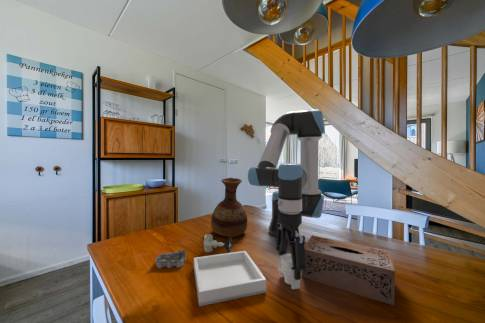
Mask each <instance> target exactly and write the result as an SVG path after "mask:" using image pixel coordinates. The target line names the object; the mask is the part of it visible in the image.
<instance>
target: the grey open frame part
mask: <svg viewBox="0 0 485 323" xmlns="http://www.w3.org/2000/svg"><path fill="white" fill-rule="evenodd" d="M186 253H187V249H179V250H177V251H174V252H167V253H159V254H158V255H157V256H156V258H154V259H155V267H157V268H158V269H161V268H164V267H167V269H171V268H172V267H176V268H177V269H178V268H181V267H183V266H185V262H186V260H187V259H186V258H187V256H186Z"/></svg>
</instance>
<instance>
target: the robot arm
mask: <svg viewBox="0 0 485 323" xmlns="http://www.w3.org/2000/svg"><path fill="white" fill-rule="evenodd" d="M325 128H326V126H325V119H324V113H323V111H322V110H321V109H305V110H297V111H296V110H295V111H288V112H286V113H284V114H282V115H281V116H279V117H278V118H277V119H276V120H275V121H274V123H273V124H272V125H271V129H270V135H269V137H268V140H267V143H266V145H265V148H264V150H263V152H262V155H261V157H260V160H259V162H258V164H257V166H251V167H250V168H249V170H248V171H247V180H248V183H249V184H250V185H252V186H255V187H270V188H278V190H274V191H273V192H272V196H271V220H270V223H269V226H268V233H269V235H271V236H274V237H276V240H275V241H276V242H275V251H277V252H278V253H277V254H278V255H279V257H278V258H279V260H278V261H279V265H280V264H281V261H282V260H281V258H282V255H284V254H289V252H288V248H289V250H290V254H291V257H292V263H293V267H291V284H290V288H291V290H297V289H300V288H301V278H302V270H304V269H306V264H305V246H304V245H305V244H306V243H305V242H306V236H305V235H301V234H300V230H299V229H300V228H299V227H300V226H301V225H302V221H303V220H302V219H303V217H306V218H311V219H312V218H313V219H319V218H321V217H322V214H323V208H324V203H325V195H324V194H322V190H320V189H319V141H320V139H321V138H322V135H323V134H325V133H326V129H325ZM293 135H297V137H296V138H297V139H298V141H300V144H299V145H300V151H299V152H300V159H299V160H300V163H280V164H279V161H280V158H281V155H282V153H283V149H284V145H285V142H286V140H287V139H288V138H289V137H290V136H293ZM278 164H279V165H278ZM279 265H278V266H279ZM278 270H279V269H278ZM278 274H279V275H280V276H285V275H284V274H283V273H282V272H281V271H280V270H279V271H278Z"/></svg>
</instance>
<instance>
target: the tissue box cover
mask: <svg viewBox="0 0 485 323" xmlns="http://www.w3.org/2000/svg"><path fill="white" fill-rule="evenodd" d="M304 246H305V264H306V269H304V270H301V278H304V279H307V280H311V281H314V282H318V283H321V284H324V285H327V286H331V287H332V288H337V289H340V290H342V291H346V292H349V293H352V294H355V295H358V296H362V297H365V298H369V299H371V300H375V301H378V302H382V303H383V304H384V303H385V304H388V305H390V306H393V307H394V306H395V287H396V284H395V283H396V282H395V280H396V269H395V264H394V260H393V256H392V252H391V250H385V249H382V248H378V247H377V248H376V247H371V246H366V245H363V244H356V243H352V242H347V241H341V240H337V239H333V238H332V239H331V238H327V237H322V236H319V235H318V236H317V235H311V236H310V237H309V239H308V240H307V241H306V243H304Z"/></svg>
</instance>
